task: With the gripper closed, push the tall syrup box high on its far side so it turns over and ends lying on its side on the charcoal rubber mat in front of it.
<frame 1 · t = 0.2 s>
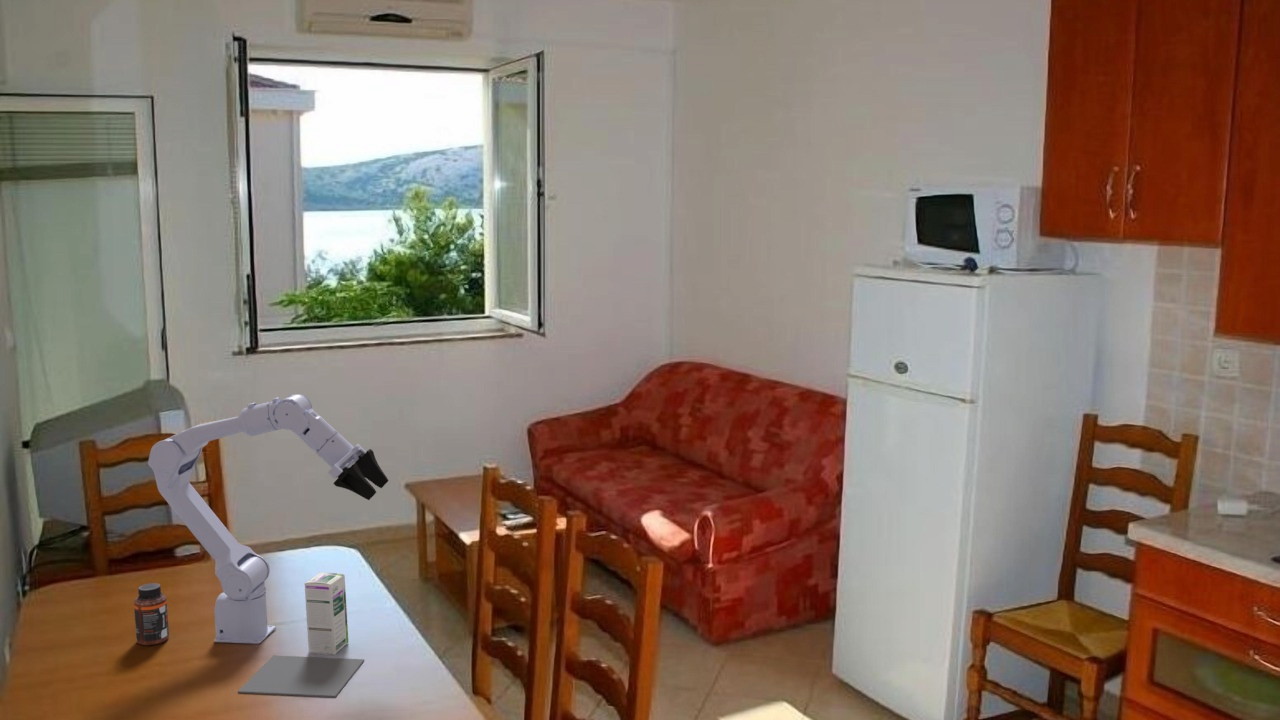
hand: (379, 490, 209), 31 cm above the table, tool tilted 45°, fingers open, 7 cm apart
supplement bottle: (153, 641, 213), on the table
charcoal mat: (303, 676, 197), on the table
syrup box: (328, 648, 210), on the table
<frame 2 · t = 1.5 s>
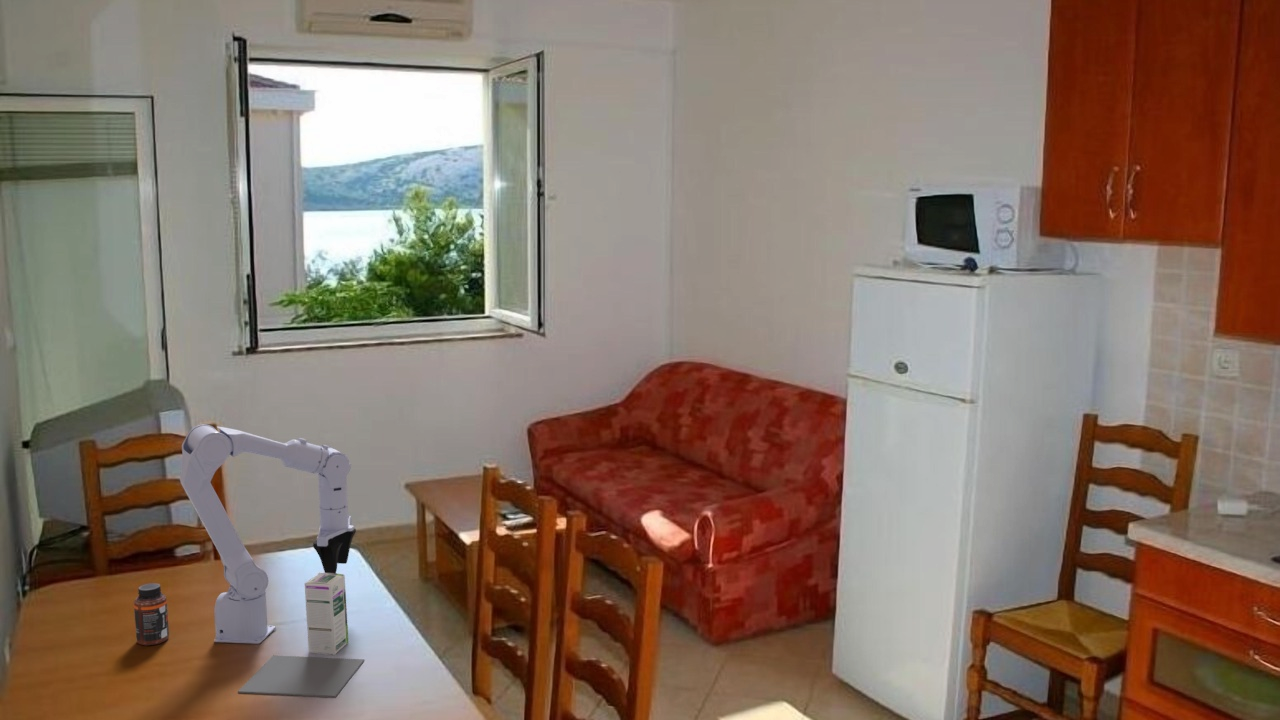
hand: (336, 568, 224), 10 cm above the table, tool pointing down, fingers open, 6 cm apart
nothing on the table moved.
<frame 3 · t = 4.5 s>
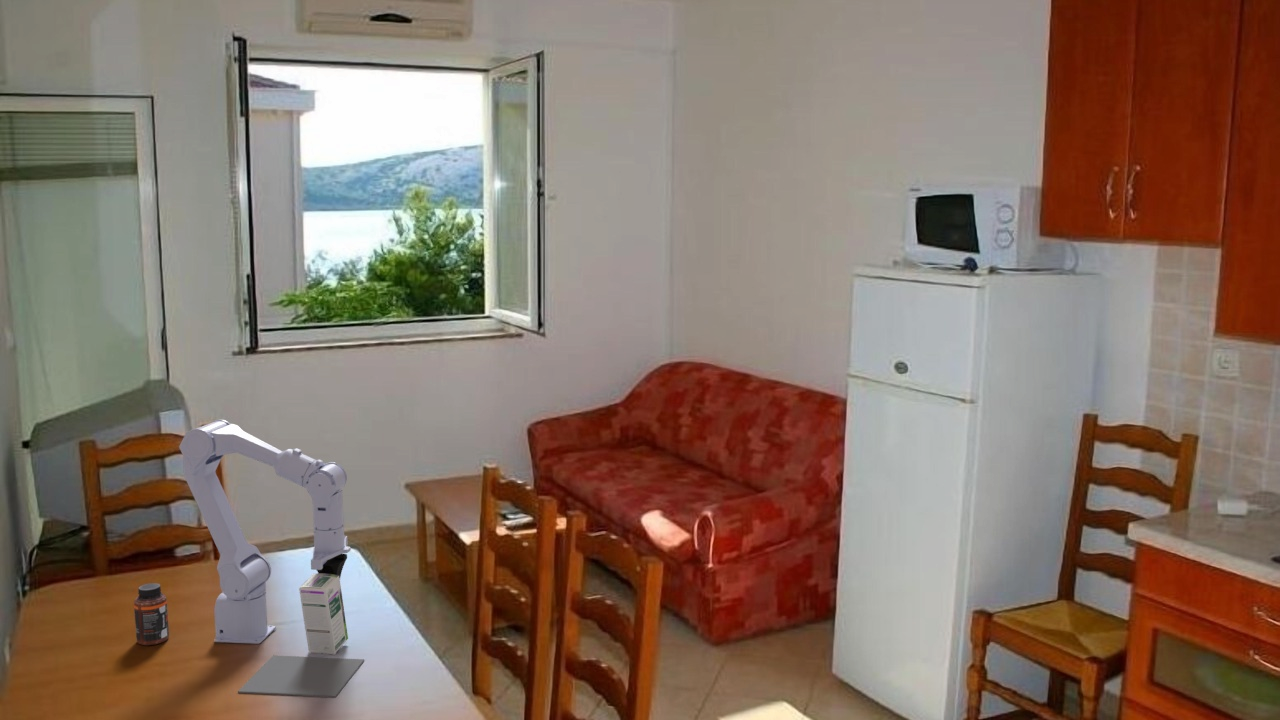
hand: (331, 592, 211), 10 cm above the table, tool pointing down, fingers closed
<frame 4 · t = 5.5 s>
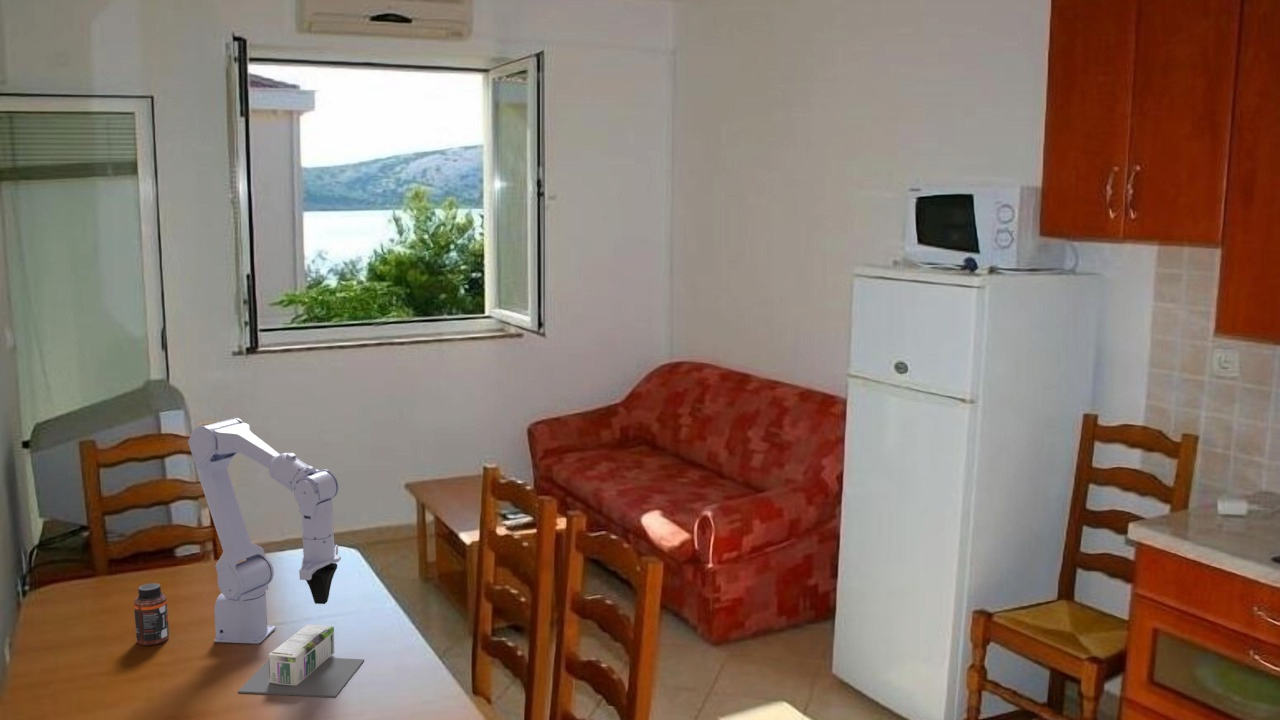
hand: (321, 602, 206), 10 cm above the table, tool pointing down, fingers closed
syrup box: (321, 637, 207), point 3 cm above the table, touching charcoal mat
everything else where it was.
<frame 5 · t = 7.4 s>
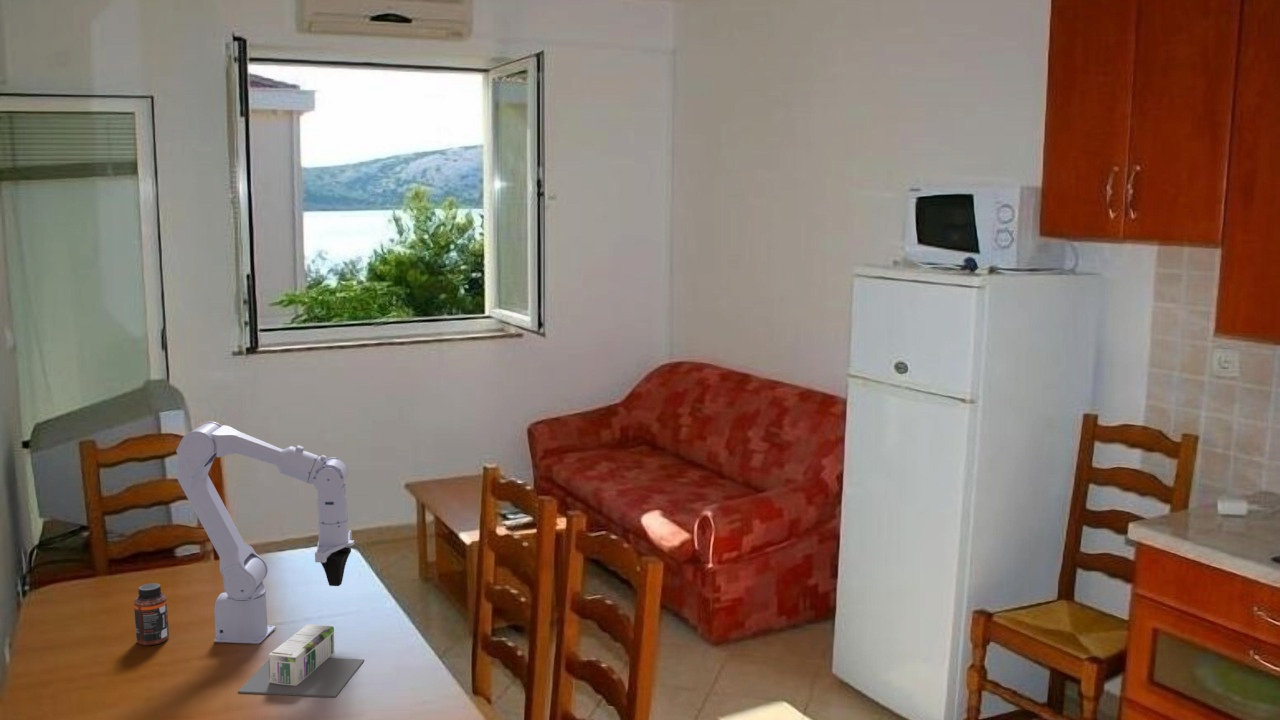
hand: (335, 584, 215), 10 cm above the table, tool pointing down, fingers closed
nothing on the table moved.
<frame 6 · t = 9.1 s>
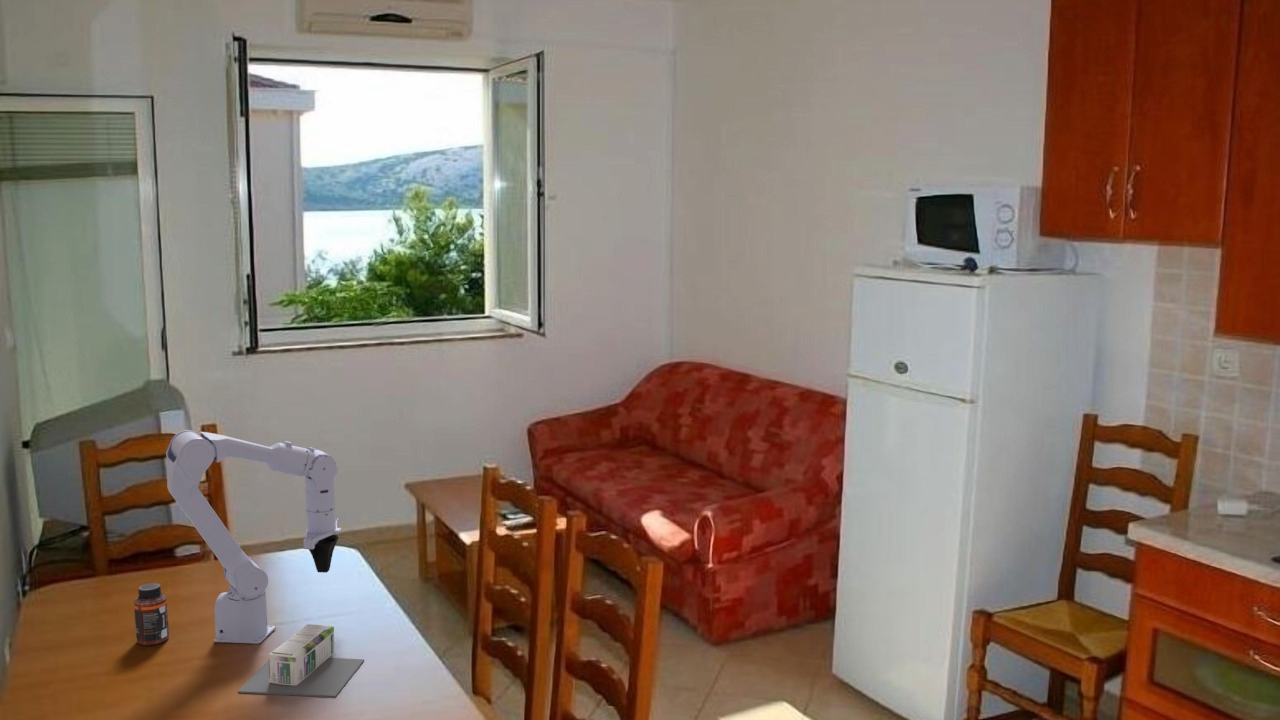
hand: (323, 571, 222), 10 cm above the table, tool pointing down, fingers closed
nothing on the table moved.
at the end: syrup box tilted 90°; syrup box touching charcoal mat; syrup box inside the target area (0.6 cm from its centre), point 3.1 cm above the table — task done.
